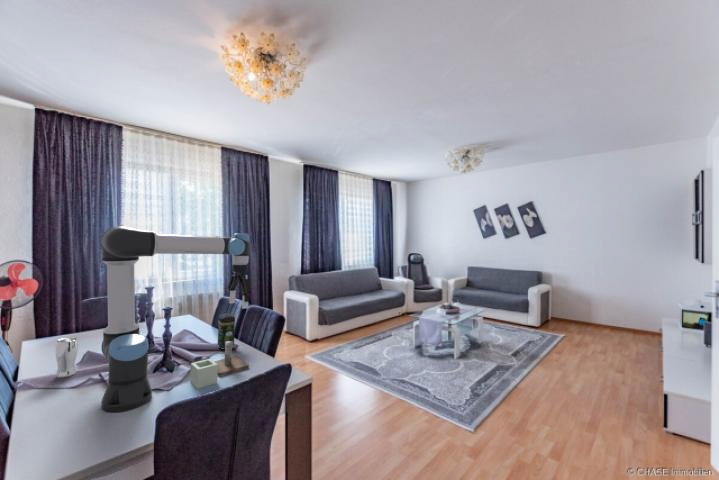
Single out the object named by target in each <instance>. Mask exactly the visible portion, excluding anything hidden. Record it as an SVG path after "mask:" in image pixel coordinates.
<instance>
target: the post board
mask: <svg viewBox="0 0 719 480" xmlns="http://www.w3.org/2000/svg"><path fill="white" fill-rule="evenodd" d="M213 361H214V360H213ZM214 362H215V363H217V364H218V372H217V377H219V378H220V377H224V376H226V375H230V374H232V373H236V372H240V371H242V370H244V371H245V370H246V369H249V368H250V365H249V364H248V363H247V362H246V361H243V360H242V359H241V358H239V357H237V356H236V355H234V356H233V348H232V341H227V342H225V350H224V358H222V359H219V360H215V361H214Z"/></svg>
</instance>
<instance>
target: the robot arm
mask: <svg viewBox="0 0 719 480" xmlns="http://www.w3.org/2000/svg"><path fill="white" fill-rule="evenodd" d="M99 245H100V247H101V262H102V263H104V264H105V265H106V267H107V268H106V272H107V281H106V282H107V326H106V327H105V328H104V329H103V330H102V332H103V333H102V341H101V345H100V346H101V352H102V355H103V356H104V357H105V359H106V361H107V363H108V381H107V382H108V385H107V387H106V389H105V391H104V394H103V396H102V399H101V402H100V403H101V405H100V406H101V410H102V411H104V412H106V413H121V412H126V411H131V410H134V409H137V408H140V407H141V406H143V405H145V404H146V403H147V404H148V402H150V401H151V399H152V395H153V389H152V387H151V384H150V382H149V381H150V380H149V379H148V366H149V365H148V361H149V345H150V344H149V339H148V337H147V336H145V335H143V334H141V333H140V325H139V324H138V323H137V322H136V314H135V313H136V308H135V307H136V306H135V302H136V301H135V298H136V297H135V293H136V292H135V264H136V263H137V262H139V260H140V259H139V258H140V257H154V255H159V254H160V255H163V254H166V255H230V256H231V255H232V267H231V268H232V270H231V275H230V279H229V282H228V285H227V289H229V304H235V303H236V291H237V286H238V284H239V285H240V287H241V290H242V300H241V301H242V302H241V304H242V305H241V309H242V310H244V309H248V308H249V296H250V295H252V288H251V283H250V275H249V274H246V273H247V272H248V271H249V260H250V257H249V255H250V235H249V233H239V232H237V233H235V232H234V234H233V236H199V235H195V236H194V235H184V234H183V235H179V234H160V233H159V234H158V233H156V232H155V231H153V230H152V231H151V230H142V229H137V228H133V227H129V226H122V225H119V226H118V225H117V226H112V227H110V228H107V229H106V230H105V231H103V233H102V234H101V236H100V239H99Z"/></svg>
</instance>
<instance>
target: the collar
mask: <svg viewBox="0 0 719 480" xmlns="http://www.w3.org/2000/svg"><path fill="white" fill-rule="evenodd" d="M217 372H218V364H217V363H215V362H214V360H213V359H211V358H208V359H203V360H199V361H194V362H191V363H190V373H189V374H190V375H189V376H190V377H189V382H190V383H191V385H192V386H193V387H194V388H195V389H196V390H197V389H198V390H199V389H201V388H205V387H209V386H211V385H215V384H217V383H218V375H217Z"/></svg>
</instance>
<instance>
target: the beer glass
mask: <svg viewBox="0 0 719 480" xmlns="http://www.w3.org/2000/svg"><path fill="white" fill-rule="evenodd" d="M78 345H79V344H78V337H73V336H72V337H65V338H61V339H58V340H56V343H55V360H56V363H57V372H56V378H58V379H59V378H61V379H62V378H67V377H71V376H73V375H75V374H76V373H77V372H76V366H75V363H76V359H77V355H78V352H79V351H78V350H79V349H78V348H79V346H78Z"/></svg>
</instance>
